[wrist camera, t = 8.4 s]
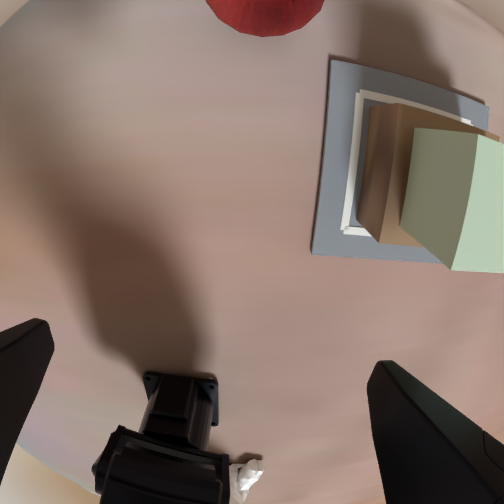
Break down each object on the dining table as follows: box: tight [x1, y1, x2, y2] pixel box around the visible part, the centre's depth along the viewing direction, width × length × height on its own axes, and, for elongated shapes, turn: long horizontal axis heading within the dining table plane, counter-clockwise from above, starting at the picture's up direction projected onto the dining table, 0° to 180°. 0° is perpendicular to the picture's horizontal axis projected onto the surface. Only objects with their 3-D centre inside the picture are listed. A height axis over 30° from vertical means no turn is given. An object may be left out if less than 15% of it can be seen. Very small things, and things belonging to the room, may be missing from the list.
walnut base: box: [356, 103, 500, 248], centre depth 15 cm, size 7×7×4 cm
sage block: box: [400, 128, 504, 273], centre depth 11 cm, size 5×5×5 cm
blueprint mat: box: [311, 60, 489, 264], centre depth 17 cm, size 12×12×1 cm
